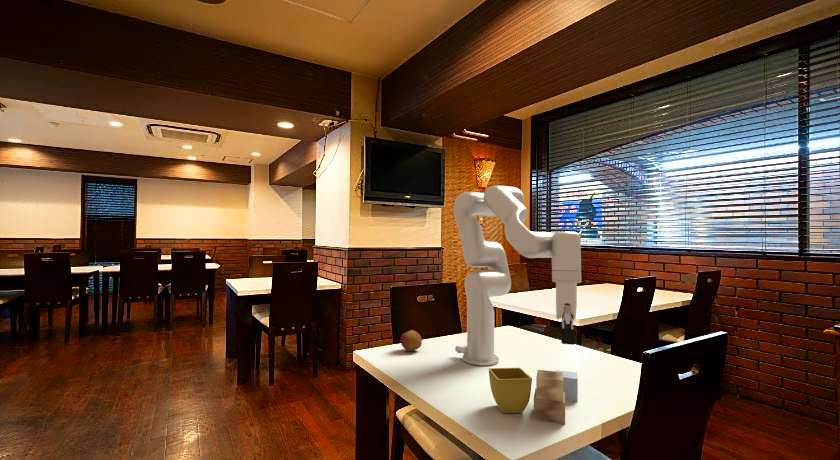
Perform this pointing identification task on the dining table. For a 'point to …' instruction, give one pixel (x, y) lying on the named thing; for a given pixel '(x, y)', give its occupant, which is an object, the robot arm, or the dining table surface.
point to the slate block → (570, 385)
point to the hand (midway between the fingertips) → (567, 339)
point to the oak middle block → (549, 385)
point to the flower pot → (510, 388)
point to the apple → (411, 340)
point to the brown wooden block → (549, 410)
